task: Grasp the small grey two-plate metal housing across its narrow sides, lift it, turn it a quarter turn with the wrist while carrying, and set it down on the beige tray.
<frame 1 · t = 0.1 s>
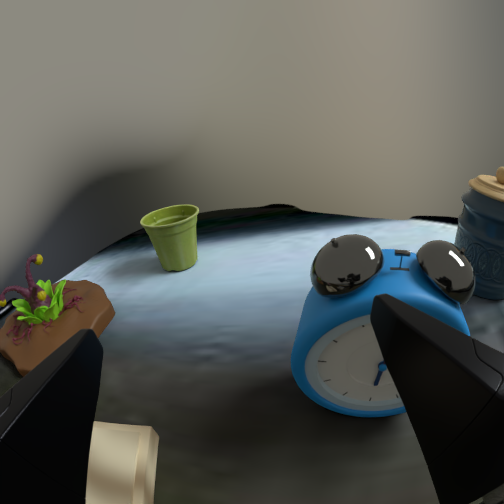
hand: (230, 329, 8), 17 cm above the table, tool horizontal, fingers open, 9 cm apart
plant: (56, 329, 33), on the table
canister: (481, 278, 34), on the table
alarm clock: (365, 393, 22), on the table
plant pot: (179, 263, 47), on the table
beige tray: (86, 474, 15), on the table
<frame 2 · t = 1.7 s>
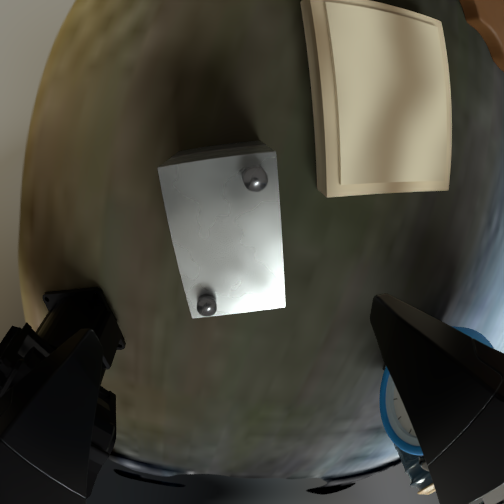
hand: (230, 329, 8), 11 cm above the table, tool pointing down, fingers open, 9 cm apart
canister: (420, 422, 40), on the table
housing: (226, 205, 18), on the table
alarm clock: (411, 345, 27), on the table
beige tray: (380, 94, 16), on the table
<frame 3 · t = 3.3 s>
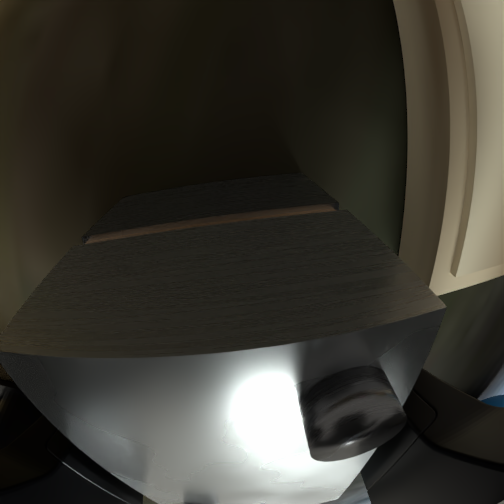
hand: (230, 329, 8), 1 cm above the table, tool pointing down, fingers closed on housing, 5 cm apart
housing: (229, 303, 9), on the table, touching gripper
beige tray: (497, 100, 6), on the table
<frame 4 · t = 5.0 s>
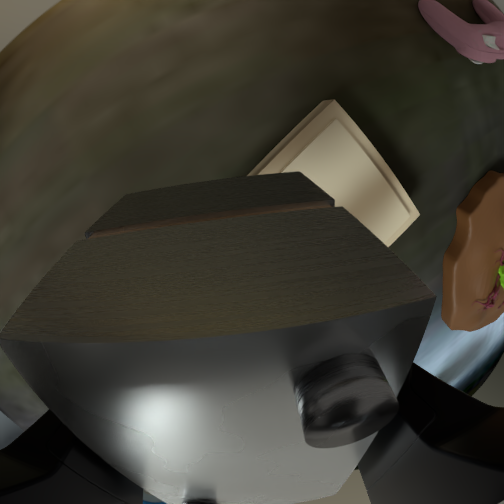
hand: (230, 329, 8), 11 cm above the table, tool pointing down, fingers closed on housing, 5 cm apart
plant: (495, 249, 23), on the table
video game controller: (459, 28, 13), on the table
housing: (228, 299, 9), point 10 cm above the table, touching gripper
beige tray: (304, 221, 19), on the table
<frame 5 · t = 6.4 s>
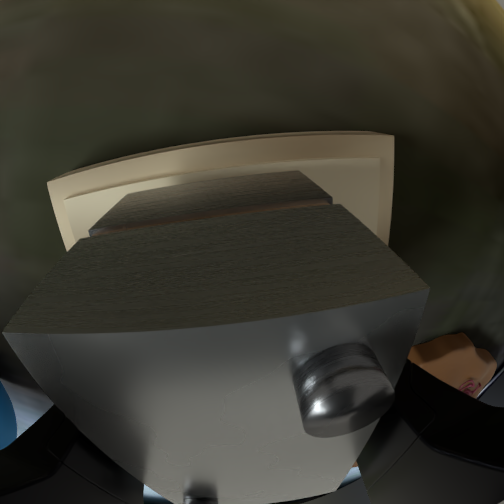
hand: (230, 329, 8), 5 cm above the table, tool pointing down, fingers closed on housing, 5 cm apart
plant: (403, 406, 23), on the table
housing: (229, 297, 10), point 3 cm above the table, touching gripper
beige tray: (230, 254, 13), on the table
when the fingers open (4 cm above the table, at t = 7.0 s): housing stays where it is, resting on beige tray.
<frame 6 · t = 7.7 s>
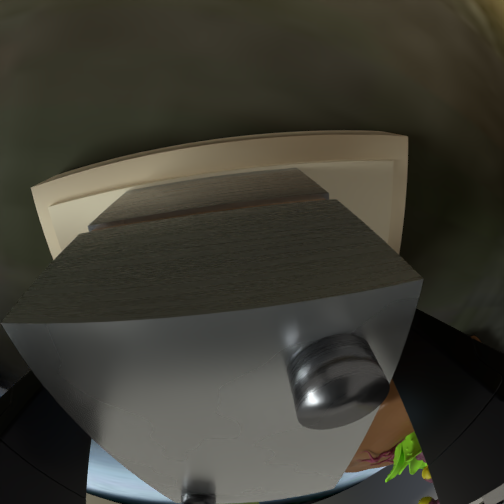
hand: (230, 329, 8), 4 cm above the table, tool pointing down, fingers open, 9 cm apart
plant: (410, 410, 22), on the table
housing: (227, 294, 10), point 2 cm above the table, touching beige tray
beige tray: (229, 263, 12), on the table
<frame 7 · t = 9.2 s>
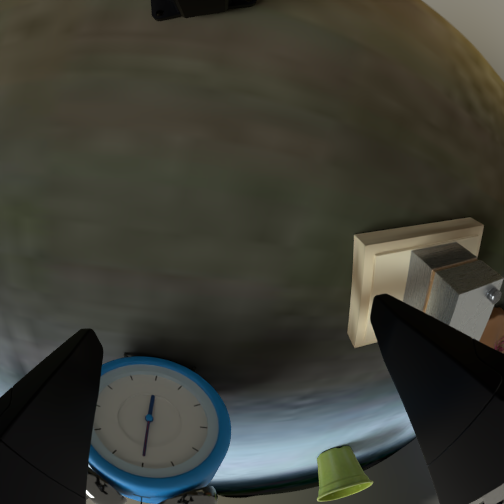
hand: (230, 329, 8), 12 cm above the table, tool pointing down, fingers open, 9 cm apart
plant: (461, 361, 32), on the table
housing: (427, 288, 21), point 2 cm above the table, touching beige tray
alarm clock: (159, 373, 26), on the table
plant pot: (333, 451, 39), on the table
beige tray: (414, 275, 23), on the table
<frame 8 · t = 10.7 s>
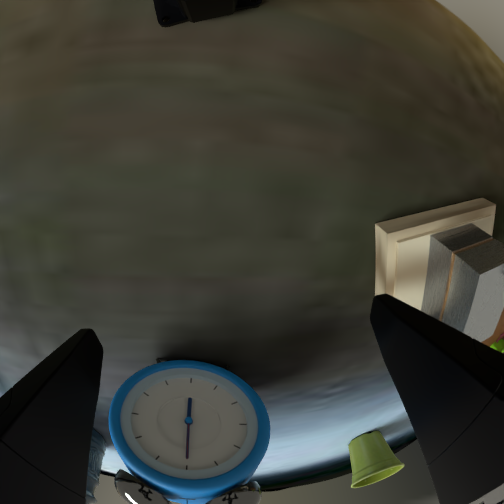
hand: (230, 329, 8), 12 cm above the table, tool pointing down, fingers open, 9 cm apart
plant: (484, 336, 32), on the table
canister: (71, 428, 33), on the table
housing: (447, 270, 21), point 2 cm above the table, touching beige tray
alarm clock: (192, 374, 27), on the table
plant pot: (364, 437, 39), on the table
beige tray: (433, 258, 23), on the table
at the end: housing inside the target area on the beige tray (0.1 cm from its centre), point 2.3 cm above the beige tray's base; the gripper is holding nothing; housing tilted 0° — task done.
